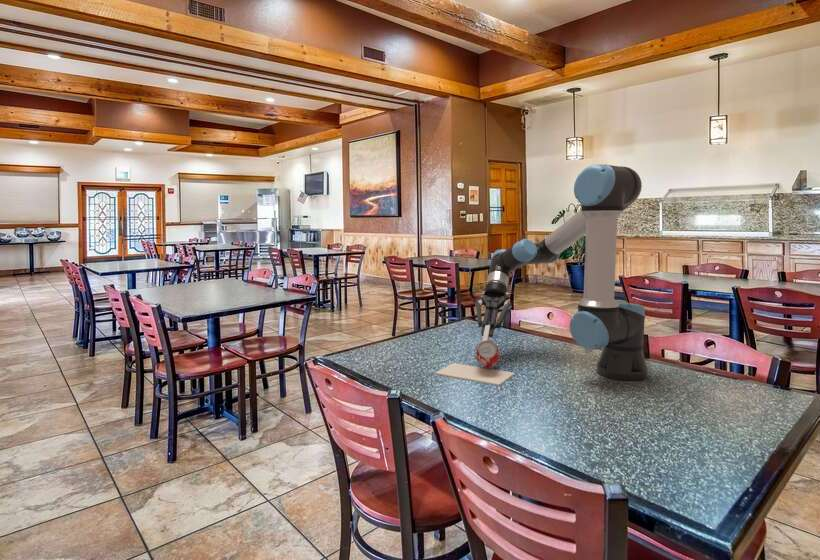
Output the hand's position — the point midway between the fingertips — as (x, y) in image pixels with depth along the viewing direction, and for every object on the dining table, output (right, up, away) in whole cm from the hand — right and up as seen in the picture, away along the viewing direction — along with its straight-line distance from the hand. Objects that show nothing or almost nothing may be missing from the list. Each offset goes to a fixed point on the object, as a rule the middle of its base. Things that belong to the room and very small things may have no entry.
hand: (484, 344), depth 164 cm
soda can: (+2, -6, +4) cm, 7 cm away
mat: (-4, -9, -4) cm, 11 cm away
